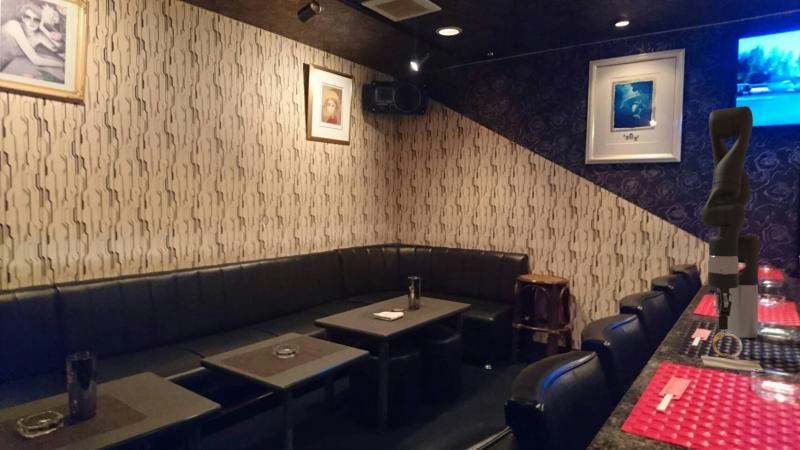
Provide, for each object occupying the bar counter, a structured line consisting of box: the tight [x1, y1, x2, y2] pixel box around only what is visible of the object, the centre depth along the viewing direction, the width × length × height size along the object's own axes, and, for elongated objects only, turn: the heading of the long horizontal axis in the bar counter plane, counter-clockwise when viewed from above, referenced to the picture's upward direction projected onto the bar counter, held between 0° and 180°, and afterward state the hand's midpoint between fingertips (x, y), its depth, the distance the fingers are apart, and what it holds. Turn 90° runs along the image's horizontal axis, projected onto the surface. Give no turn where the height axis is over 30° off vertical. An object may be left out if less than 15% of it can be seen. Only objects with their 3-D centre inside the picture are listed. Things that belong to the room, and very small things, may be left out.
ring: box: [712, 329, 743, 359], centre depth 136 cm, size 7×3×8 cm, turn 54°
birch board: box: [700, 355, 764, 373], centre depth 130 cm, size 9×13×1 cm
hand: (722, 329), depth 143 cm, fingers closed
